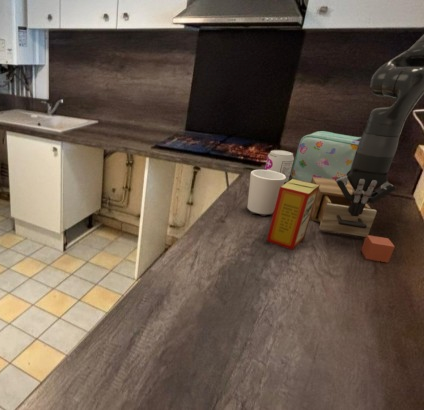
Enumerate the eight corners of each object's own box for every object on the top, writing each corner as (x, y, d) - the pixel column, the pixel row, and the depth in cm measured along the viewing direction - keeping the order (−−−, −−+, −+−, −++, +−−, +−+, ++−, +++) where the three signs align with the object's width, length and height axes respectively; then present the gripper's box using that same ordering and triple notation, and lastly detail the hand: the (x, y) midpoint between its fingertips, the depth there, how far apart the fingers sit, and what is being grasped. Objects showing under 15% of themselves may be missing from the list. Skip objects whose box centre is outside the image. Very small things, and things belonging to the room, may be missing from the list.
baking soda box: (292, 249, 93) (308, 192, 87) (266, 240, 97) (280, 185, 91) (304, 237, 99) (320, 183, 93) (279, 229, 104) (293, 177, 97)
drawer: (372, 245, 94) (383, 218, 91) (322, 236, 98) (331, 211, 95) (354, 217, 110) (362, 194, 107) (311, 211, 114) (318, 188, 111)
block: (382, 254, 92) (388, 238, 90) (388, 263, 88) (395, 246, 86) (360, 250, 93) (366, 234, 92) (365, 258, 89) (372, 242, 88)
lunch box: (376, 198, 127) (398, 139, 118) (363, 204, 122) (386, 142, 113) (299, 177, 147) (313, 125, 139) (286, 182, 142) (300, 128, 133)
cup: (247, 203, 121) (254, 167, 116) (278, 210, 116) (288, 173, 111) (239, 213, 114) (247, 175, 109) (273, 221, 109) (283, 182, 103)
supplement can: (261, 194, 129) (270, 154, 123) (259, 187, 136) (267, 148, 130) (286, 198, 126) (296, 156, 120) (282, 190, 133) (292, 151, 127)
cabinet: (360, 228, 105) (371, 198, 101) (311, 220, 110) (320, 191, 106) (348, 209, 118) (357, 182, 114) (304, 203, 122) (312, 176, 118)
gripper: (402, 150, 90) (378, 213, 96) (340, 145, 94) (322, 205, 101) (414, 158, 83) (388, 225, 90) (347, 152, 88) (327, 216, 95)
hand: (353, 214), depth 96 cm, fingers closed
